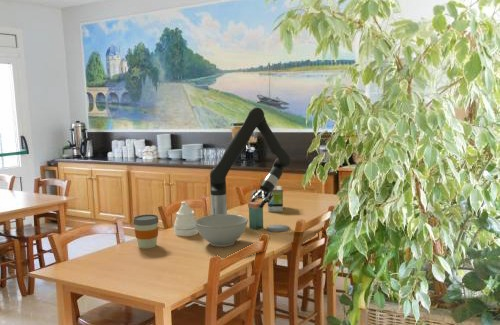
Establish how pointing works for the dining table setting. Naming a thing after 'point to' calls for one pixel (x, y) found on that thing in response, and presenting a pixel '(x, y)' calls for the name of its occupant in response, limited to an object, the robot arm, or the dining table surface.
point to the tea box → (276, 200)
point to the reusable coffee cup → (146, 230)
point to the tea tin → (256, 218)
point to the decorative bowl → (221, 228)
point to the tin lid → (254, 205)
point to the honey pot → (185, 221)
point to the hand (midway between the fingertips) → (255, 206)
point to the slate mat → (278, 228)
